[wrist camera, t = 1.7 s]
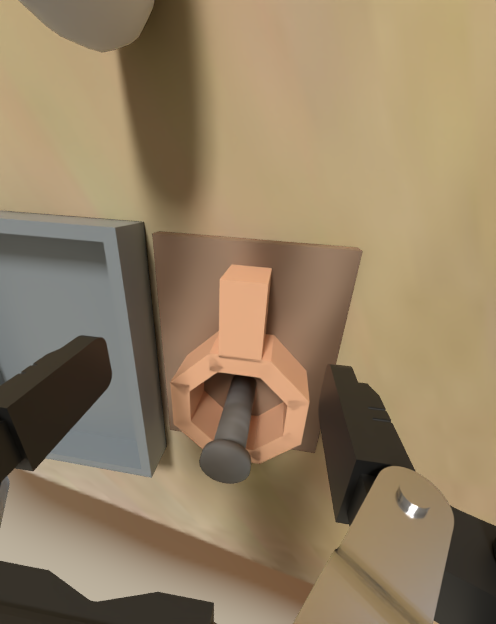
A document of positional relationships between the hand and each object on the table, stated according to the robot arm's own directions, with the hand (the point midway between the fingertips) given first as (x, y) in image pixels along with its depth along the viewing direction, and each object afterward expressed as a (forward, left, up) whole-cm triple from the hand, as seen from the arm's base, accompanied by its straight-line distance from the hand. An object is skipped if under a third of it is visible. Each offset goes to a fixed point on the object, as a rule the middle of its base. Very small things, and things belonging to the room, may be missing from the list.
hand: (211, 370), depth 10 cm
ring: (0, +4, -8) cm, 9 cm away
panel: (0, +5, -9) cm, 10 cm away
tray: (+14, +6, -9) cm, 18 cm away
